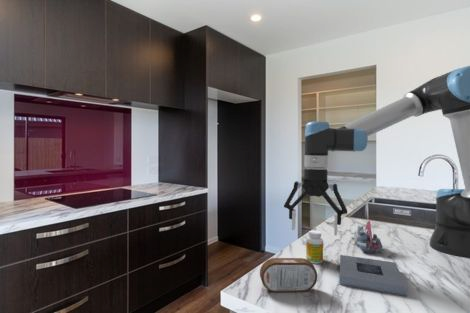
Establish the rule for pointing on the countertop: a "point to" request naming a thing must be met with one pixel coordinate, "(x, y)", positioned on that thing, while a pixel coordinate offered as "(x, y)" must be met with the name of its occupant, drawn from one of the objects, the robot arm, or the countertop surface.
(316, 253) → the supplement bottle
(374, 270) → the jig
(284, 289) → the tin
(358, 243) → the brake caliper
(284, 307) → the countertop surface
